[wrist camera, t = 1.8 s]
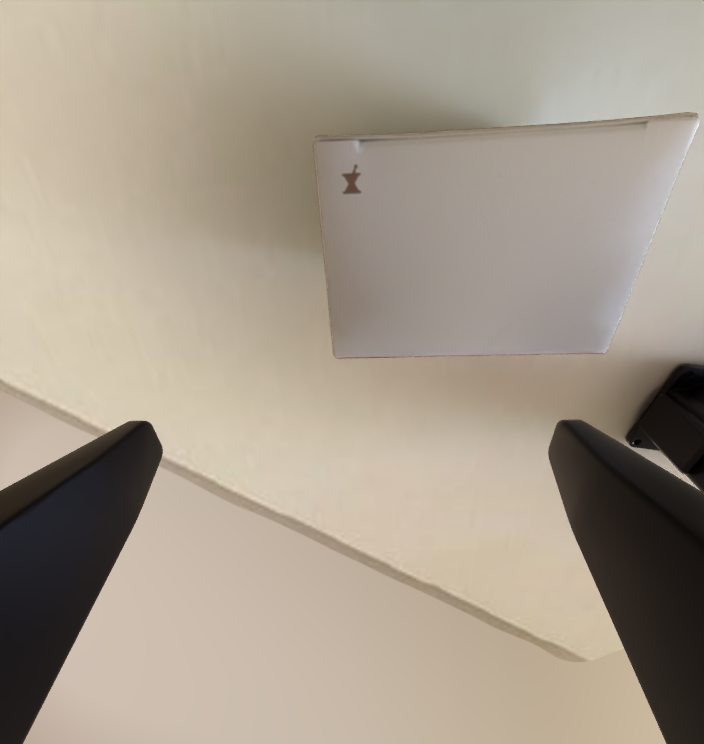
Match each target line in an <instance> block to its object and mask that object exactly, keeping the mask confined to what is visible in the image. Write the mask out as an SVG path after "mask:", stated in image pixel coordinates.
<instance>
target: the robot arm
mask: <svg viewBox="0 0 704 744" xmlns="http://www.w3.org/2000/svg"><path fill="white" fill-rule="evenodd" d="M685 373H686V374H685ZM626 441H627V442H628V443H629V445H630V446H632V447H637V448H645V449H653V450H661V452H662V453H663V454H664V455H665V456H666V457H667V458H668V459H669V460H670V461H671V462H672V463H673V465H674V466H675V467H676V468H677V469H678V470H679V471H680V472H681V473H683V474H686V476H687V477H688V478H689V479H690V480H691V481H692V482H693V483H694V484H695V485H696V486H697V487H698V488H699V489H700V490H698V489H696V488H695V487H693V486H691V485H690V484H688V483H686V482H685V481H683V480H681V479H680V478H678V477H676V476H675V475H673V474H671V473H670V472H668V471H666V470H665V469H663V468H661V467H660V466H658V465H656V464H655V463H653V462H651V461H650V460H648V459H646V458H645V457H643V456H641V455H640V454H638V453H636V452H635V451H633V450H631V449H630V448H628V447H626V446H625V445H623V444H621V443H620V442H618V441H616V440H615V439H613V438H611V437H610V436H608V435H606V434H605V433H603V432H601V431H600V430H598V429H596V428H595V427H593V426H591V425H590V424H588V423H586V422H584V421H582V420H561V421H559V422H558V423H557V425H556V428H555V431H554V434H553V437H552V440H551V443H550V446H549V451H548V454H549V460H550V463H551V466H552V470H553V473H554V476H555V479H556V482H557V485H558V489H559V492H560V495H561V498H562V501H563V504H564V508H565V511H566V514H567V517H568V520H569V523H570V525H571V528H572V531H573V533H574V535H575V538H576V540H577V543H578V545H579V547H580V549H581V552H582V554H583V556H584V558H585V561H586V563H587V565H588V567H589V570H590V572H591V574H592V576H593V579H594V581H595V583H596V585H597V588H598V590H599V592H600V594H601V597H602V599H603V601H604V604H605V606H606V608H607V610H608V613H609V615H610V617H611V619H612V622H613V624H614V626H615V628H616V631H617V633H618V635H619V637H620V640H621V642H622V644H623V646H624V649H625V651H626V653H627V655H628V658H629V660H630V662H631V665H632V667H633V669H634V671H635V673H636V676H637V678H638V680H639V683H640V685H641V687H642V689H643V691H644V694H645V696H646V698H647V700H648V703H649V705H650V707H651V710H652V712H653V714H654V716H655V719H656V721H657V723H658V726H659V728H660V730H661V732H662V735H663V737H664V739H665V741H666V744H704V366H698V365H690V364H685V365H682V366H680V367H678V368H677V369H676V370H675V372H674V373H673V374H672V376H671V377H670V379H669V380H668V381H667V383H666V384H665V385H664V387H663V388H662V390H661V391H660V392H659V394H658V395H657V396H656V398H655V399H654V400H653V402H652V403H651V405H650V406H649V407H648V409H647V410H646V411H645V413H644V414H643V416H642V417H641V418H640V420H639V421H638V422H637V424H636V425H635V427H634V428H633V429H632V431H631V432H630V433H629V435H628V436H627V438H626ZM162 454H163V449H162V445H161V443H160V441H159V439H158V437H157V434H156V432H155V430H154V428H153V426H152V425H151V423H149V422H148V421H129V422H127V423H125V424H123V425H121V426H119V427H117V428H116V429H114V430H112V431H110V432H108V433H106V434H104V435H103V436H101V437H99V438H97V439H95V440H93V441H92V442H90V443H88V444H86V445H84V446H82V447H80V448H79V449H77V450H75V451H73V452H71V453H69V454H68V455H66V456H64V457H62V458H60V459H58V460H57V461H55V462H53V463H51V464H49V465H47V466H45V467H44V468H42V469H40V470H38V471H37V472H34V473H32V474H31V475H29V476H27V477H25V478H23V479H21V480H20V481H18V482H16V483H14V484H12V485H11V486H9V487H7V488H5V489H3V490H1V491H0V744H23V742H24V740H25V738H26V736H27V734H28V732H29V730H30V728H31V727H32V725H33V723H34V721H35V719H36V717H37V715H38V713H39V711H40V709H41V707H42V705H43V703H44V701H45V699H46V697H47V695H48V693H49V691H50V689H51V687H52V685H53V683H54V681H55V680H56V678H57V676H58V674H59V672H60V670H61V668H62V666H63V664H64V662H65V660H66V658H67V656H68V654H69V652H70V650H71V648H72V646H73V644H74V642H75V640H76V638H77V636H78V634H79V632H80V630H81V628H82V626H83V625H84V623H85V621H86V619H87V617H88V615H89V613H90V611H91V609H92V607H93V605H94V603H95V601H96V599H97V597H98V595H99V593H100V591H101V589H102V587H103V585H104V583H105V581H106V580H107V577H108V576H109V574H110V572H111V570H112V568H113V566H114V564H115V562H116V560H117V558H118V556H119V554H120V552H121V550H122V548H123V546H124V544H125V542H126V540H127V538H128V536H129V534H130V533H131V531H132V529H133V527H134V524H135V522H136V520H137V518H138V516H139V513H140V511H141V509H142V506H143V504H144V501H145V499H146V496H147V494H148V491H149V489H150V486H151V483H152V481H153V478H154V476H155V473H156V471H157V468H158V466H159V463H160V461H161V458H162Z"/></svg>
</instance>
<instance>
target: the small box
mask: <svg viewBox="0 0 704 744" xmlns="http://www.w3.org/2000/svg"><path fill="white" fill-rule="evenodd" d="M699 121H700V118H699V116H698V114H697V113H690V112H686V113H677V114H668V115H659V116H648V117H637V118H625V119H614V120H602V121H588V122H575V123H561V124H545V125H529V126H514V127H498V128H482V129H467V130H451V131H433V132H415V133H397V134H379V135H346V136H328V135H322V136H316V137H315V138H314V140H313V153H314V162H315V172H316V183H317V193H318V203H319V214H320V223H321V233H322V243H323V253H324V264H325V274H326V285H327V295H328V306H329V317H330V327H331V337H332V348H333V355H334V357H335V358H336V359H343V358H396V357H437V356H490V355H541V354H604V353H606V352H607V350H608V348H609V345H610V343H611V340H612V338H613V336H614V333H615V331H616V329H617V326H618V324H619V322H620V319H621V317H622V314H623V312H624V309H625V307H626V304H627V302H628V299H629V296H630V294H631V291H632V289H633V286H634V284H635V281H636V279H637V276H638V274H639V272H640V269H641V267H642V264H643V262H644V259H645V257H646V254H647V251H648V249H649V246H650V244H651V241H652V239H653V236H654V234H655V231H656V229H657V226H658V224H659V221H660V219H661V216H662V214H663V211H664V209H665V206H666V204H667V201H668V199H669V196H670V194H671V191H672V189H673V186H674V184H675V181H676V179H677V176H678V174H679V171H680V169H681V166H682V164H683V162H684V159H685V157H686V154H687V152H688V149H689V147H690V145H691V142H692V140H693V138H694V135H695V133H696V130H697V128H698V126H699Z"/></svg>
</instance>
